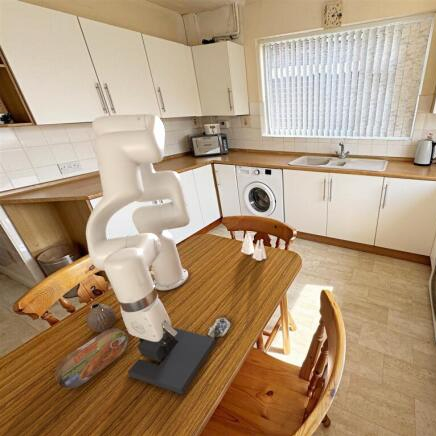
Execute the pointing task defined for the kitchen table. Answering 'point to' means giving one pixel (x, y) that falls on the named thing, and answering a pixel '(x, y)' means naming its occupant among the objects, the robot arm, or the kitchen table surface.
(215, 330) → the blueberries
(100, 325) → the vase
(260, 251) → the shaker set
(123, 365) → the kitchen table surface
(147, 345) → the dark grey squat block
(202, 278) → the kitchen table surface
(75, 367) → the tin
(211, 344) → the charcoal pad
